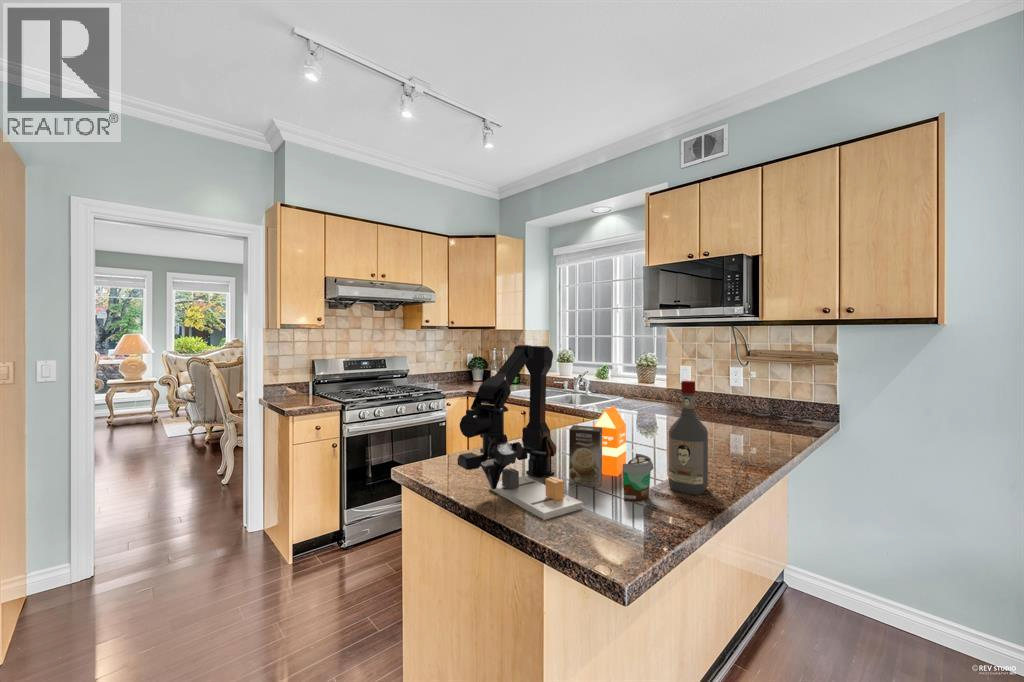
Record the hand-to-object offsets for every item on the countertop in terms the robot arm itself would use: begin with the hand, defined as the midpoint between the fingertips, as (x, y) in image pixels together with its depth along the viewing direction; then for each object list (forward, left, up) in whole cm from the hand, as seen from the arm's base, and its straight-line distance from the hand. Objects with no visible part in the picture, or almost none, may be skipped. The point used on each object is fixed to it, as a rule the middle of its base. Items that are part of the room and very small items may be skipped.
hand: (493, 488), depth 119 cm
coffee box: (-28, +5, -3) cm, 29 cm away
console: (-8, +7, -2) cm, 11 cm away
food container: (-32, +22, -3) cm, 39 cm away
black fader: (-5, 0, 0) cm, 5 cm away
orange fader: (-10, +13, 0) cm, 17 cm away
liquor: (-48, +25, -3) cm, 54 cm away
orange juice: (-42, +1, -3) cm, 42 cm away
